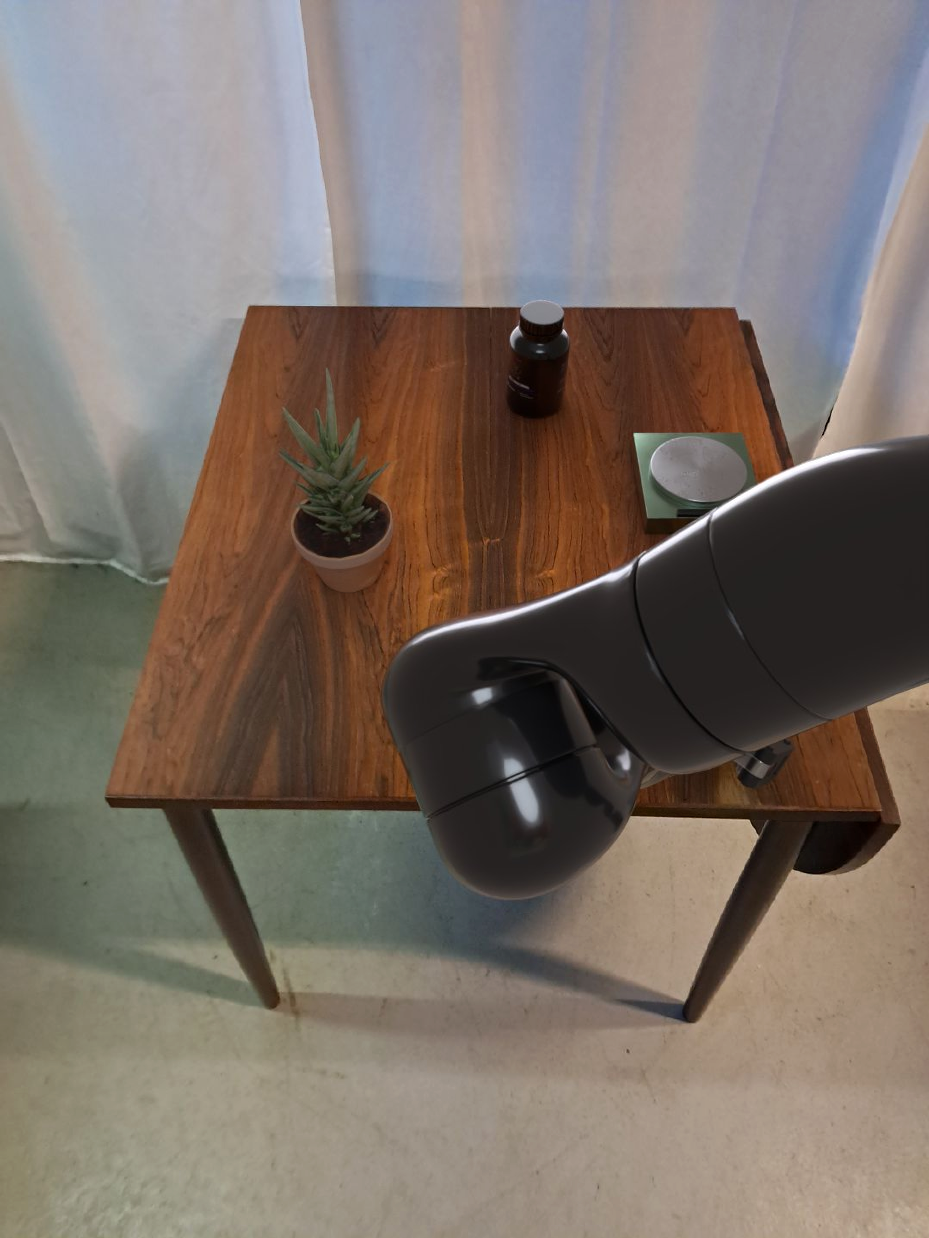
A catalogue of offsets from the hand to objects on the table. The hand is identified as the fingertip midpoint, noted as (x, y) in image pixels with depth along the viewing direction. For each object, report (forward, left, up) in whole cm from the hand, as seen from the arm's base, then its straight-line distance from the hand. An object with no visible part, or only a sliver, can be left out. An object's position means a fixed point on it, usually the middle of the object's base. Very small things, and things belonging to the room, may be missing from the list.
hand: (703, 694), depth 62 cm
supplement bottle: (+29, -43, -15) cm, 54 cm away
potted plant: (+36, -11, -15) cm, 40 cm away
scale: (+8, -36, -15) cm, 40 cm away
